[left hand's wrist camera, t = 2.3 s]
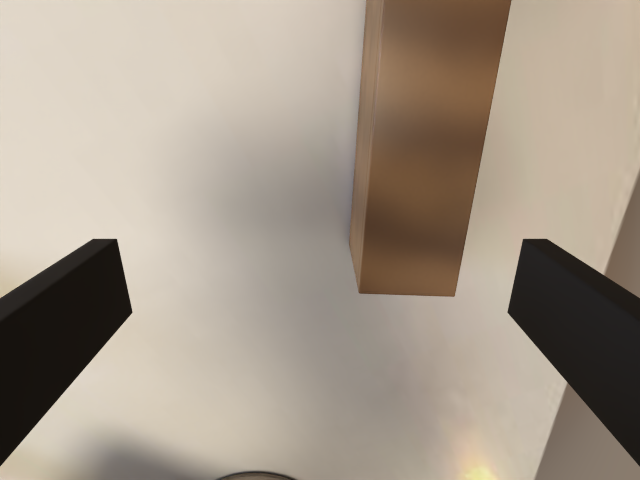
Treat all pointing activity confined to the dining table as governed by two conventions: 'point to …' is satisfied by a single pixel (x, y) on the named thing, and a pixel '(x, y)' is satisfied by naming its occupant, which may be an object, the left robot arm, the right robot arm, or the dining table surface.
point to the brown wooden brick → (421, 139)
